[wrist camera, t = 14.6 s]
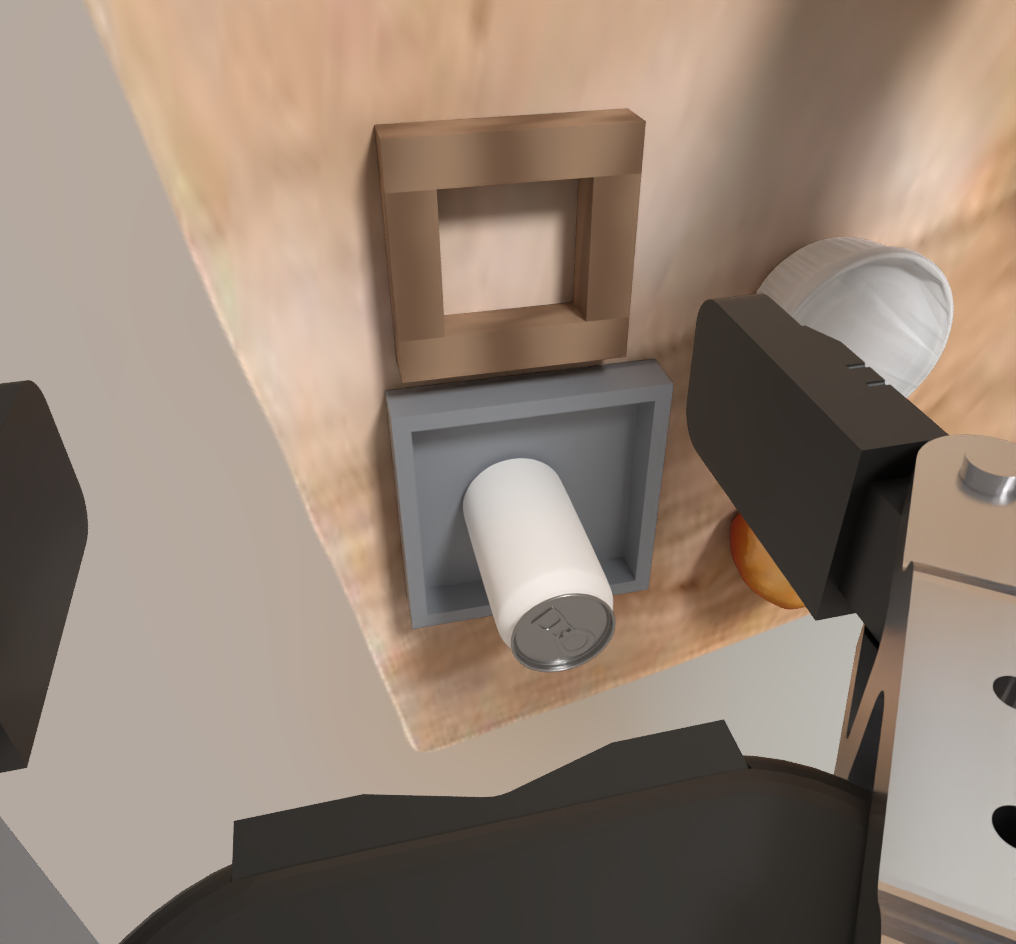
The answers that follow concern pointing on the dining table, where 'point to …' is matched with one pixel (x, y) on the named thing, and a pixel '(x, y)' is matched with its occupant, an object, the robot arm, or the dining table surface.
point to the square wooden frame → (505, 160)
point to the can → (538, 566)
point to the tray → (533, 435)
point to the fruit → (760, 567)
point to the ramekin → (869, 303)
